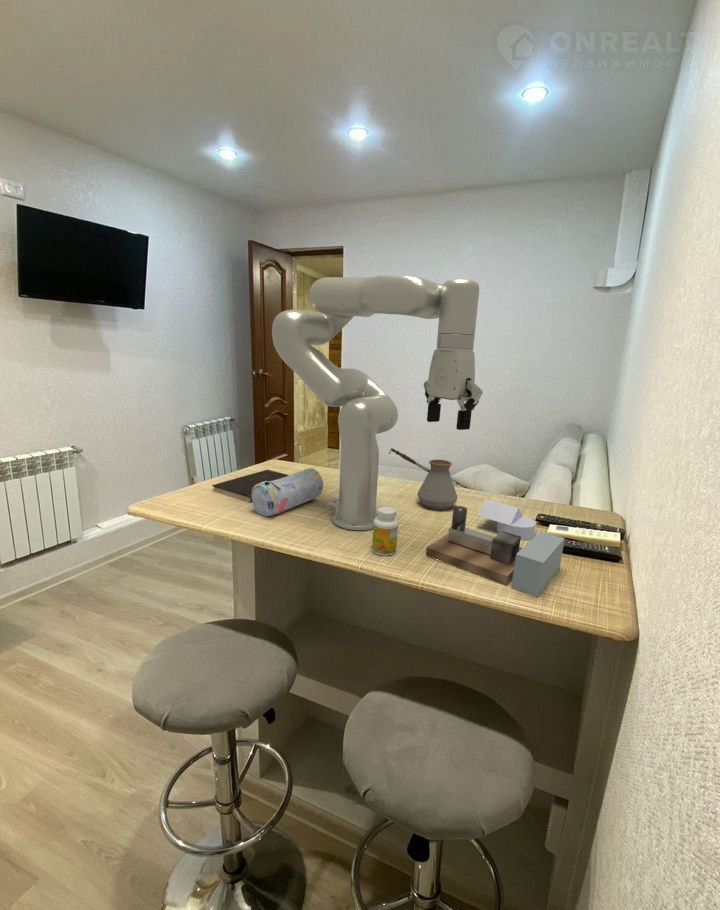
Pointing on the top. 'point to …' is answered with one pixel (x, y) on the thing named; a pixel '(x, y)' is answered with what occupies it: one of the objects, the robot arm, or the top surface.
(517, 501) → the top surface
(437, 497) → the coffee pot
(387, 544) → the supplement bottle
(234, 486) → the hardcover book
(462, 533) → the bolt
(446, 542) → the door panel
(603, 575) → the top surface
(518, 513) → the wedge on round base
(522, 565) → the block
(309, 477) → the pencil case
